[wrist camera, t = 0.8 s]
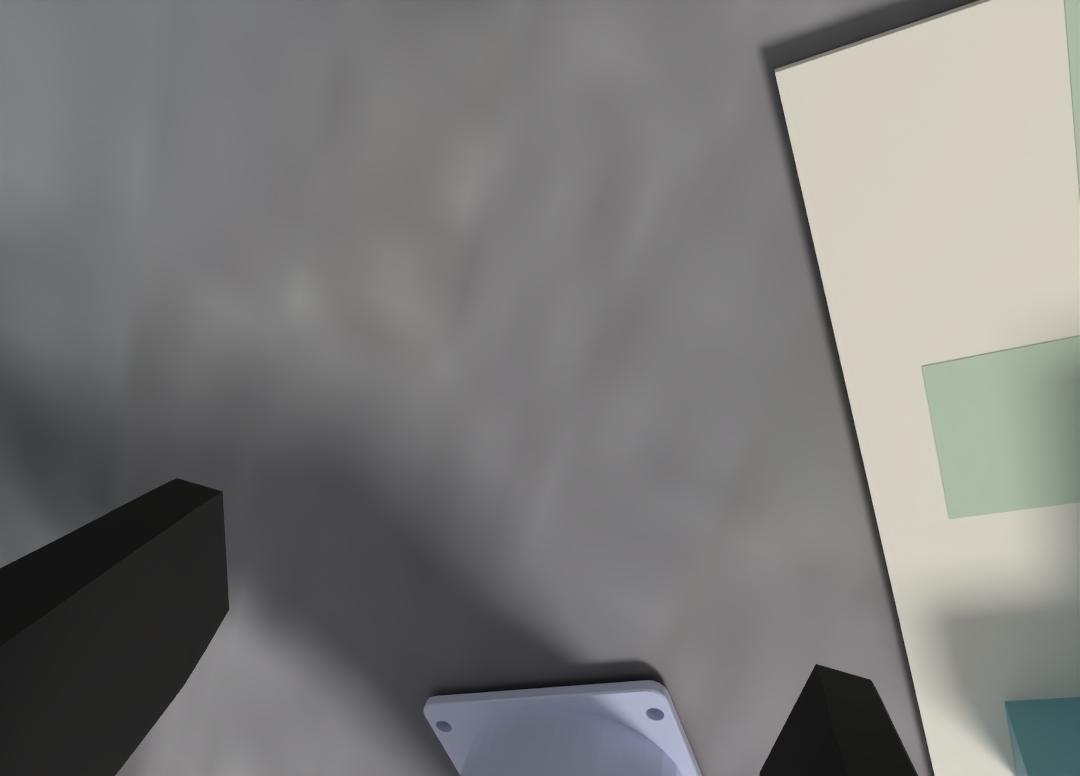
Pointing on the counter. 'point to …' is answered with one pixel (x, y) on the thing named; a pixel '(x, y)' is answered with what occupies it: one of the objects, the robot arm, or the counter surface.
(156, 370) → the counter surface
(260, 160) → the counter surface
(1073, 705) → the tee block
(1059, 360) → the mat
